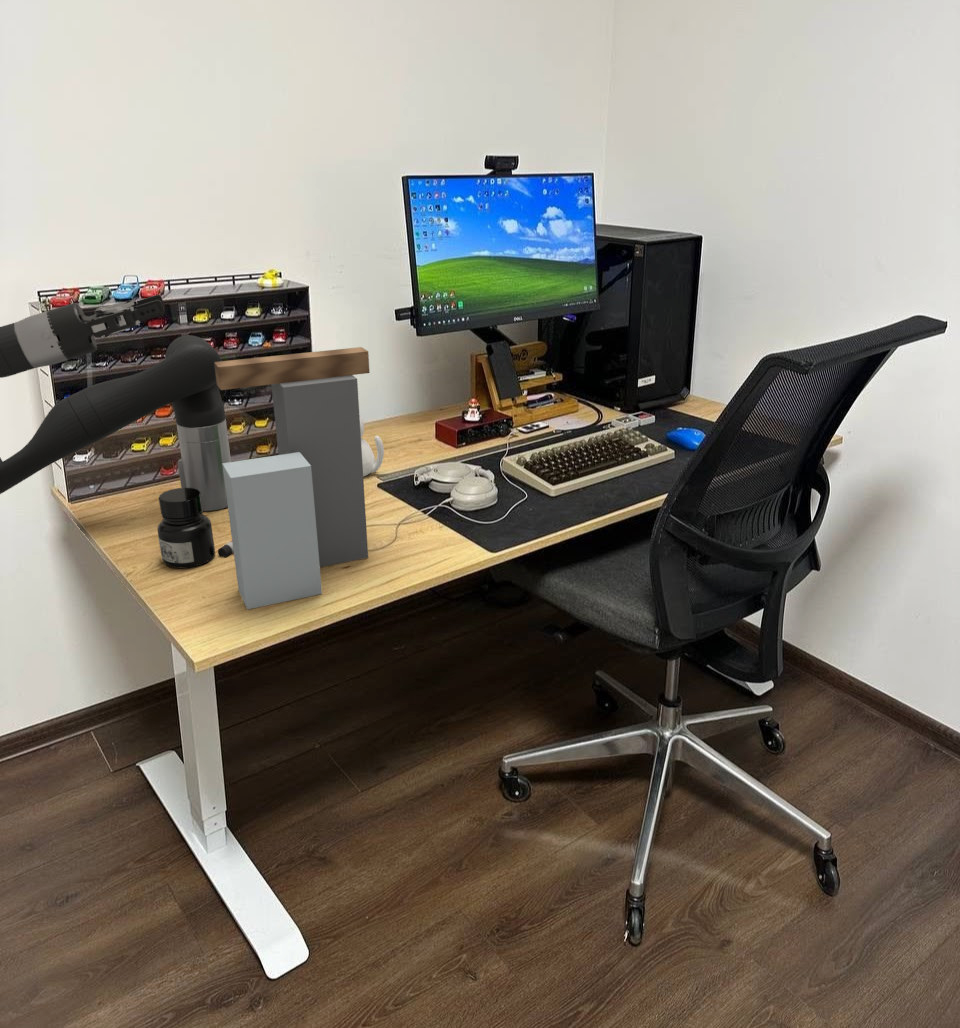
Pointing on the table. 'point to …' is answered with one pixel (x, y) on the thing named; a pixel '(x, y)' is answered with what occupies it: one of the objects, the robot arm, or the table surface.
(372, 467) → the cat figurine
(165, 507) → the ink bottle
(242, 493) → the blue-grey step
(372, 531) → the table surface
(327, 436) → the charcoal stand
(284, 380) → the walnut bar
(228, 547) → the marker
